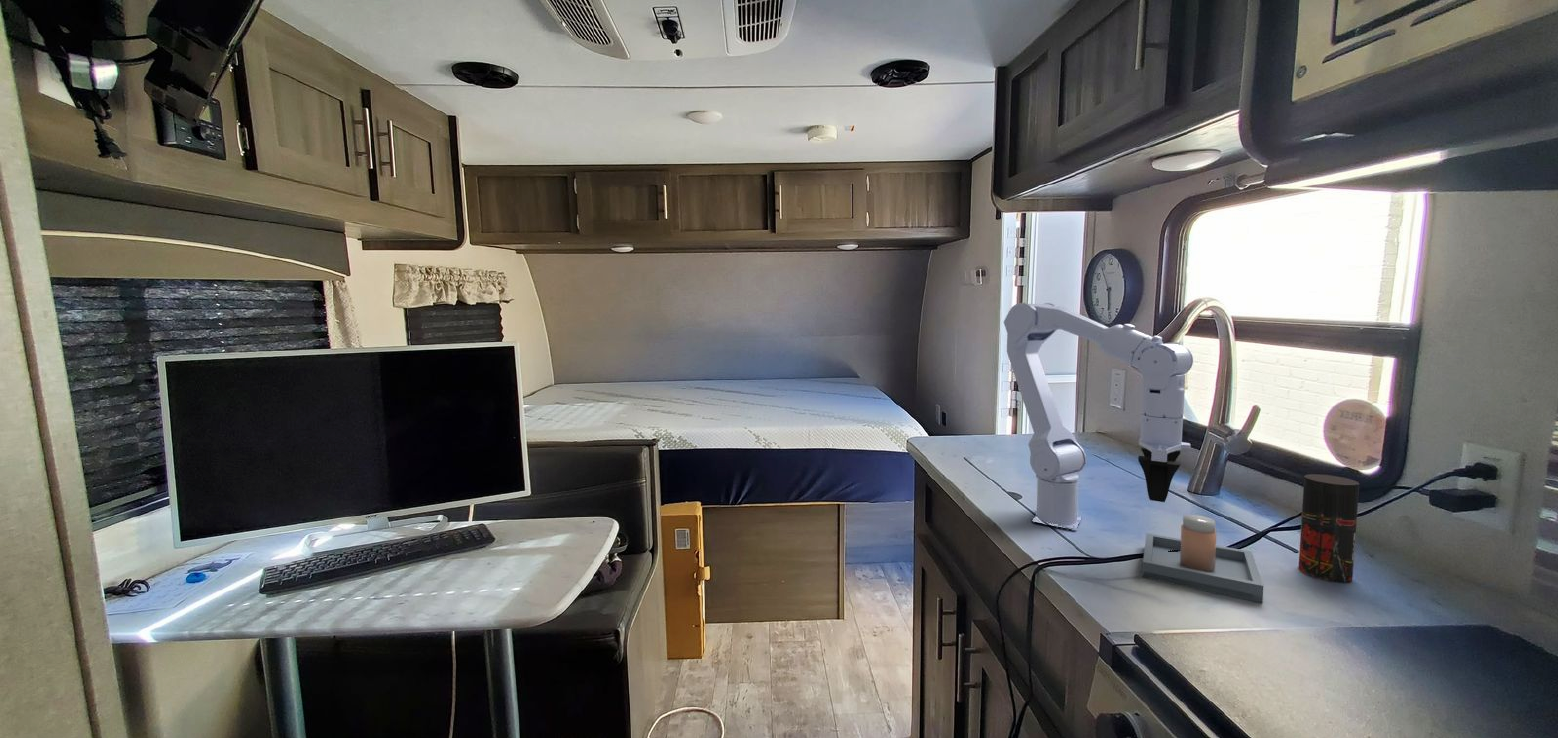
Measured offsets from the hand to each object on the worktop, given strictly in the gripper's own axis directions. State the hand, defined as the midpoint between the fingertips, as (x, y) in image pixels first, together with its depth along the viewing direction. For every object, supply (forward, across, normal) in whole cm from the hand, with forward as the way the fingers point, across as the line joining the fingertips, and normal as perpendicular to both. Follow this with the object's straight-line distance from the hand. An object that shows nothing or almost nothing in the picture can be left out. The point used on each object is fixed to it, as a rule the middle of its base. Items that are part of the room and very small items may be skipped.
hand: (1157, 494), depth 92 cm
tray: (+10, -5, -6) cm, 13 cm away
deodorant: (+10, +5, -22) cm, 25 cm away
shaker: (+9, -5, -6) cm, 12 cm away
